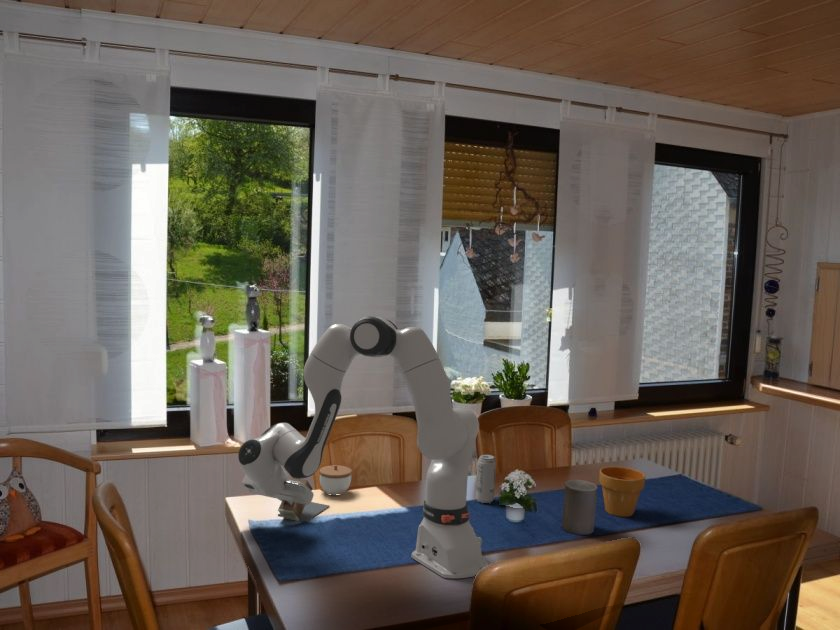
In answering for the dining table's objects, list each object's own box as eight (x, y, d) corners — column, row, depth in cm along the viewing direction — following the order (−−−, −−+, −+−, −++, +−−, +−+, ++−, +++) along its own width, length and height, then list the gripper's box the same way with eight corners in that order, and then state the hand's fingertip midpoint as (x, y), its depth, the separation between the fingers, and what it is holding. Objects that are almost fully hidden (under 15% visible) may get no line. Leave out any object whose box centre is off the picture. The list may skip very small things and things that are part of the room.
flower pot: (641, 523, 230) (644, 482, 229) (594, 515, 235) (597, 476, 233) (643, 508, 244) (646, 470, 242) (599, 501, 248) (601, 464, 247)
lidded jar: (356, 491, 248) (357, 463, 247) (340, 500, 238) (341, 472, 237) (329, 485, 252) (330, 458, 251) (312, 494, 242) (313, 466, 242)
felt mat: (306, 521, 219) (306, 520, 219) (278, 515, 223) (278, 514, 223) (329, 506, 232) (329, 505, 232) (302, 501, 236) (302, 500, 236)
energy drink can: (494, 504, 241) (496, 459, 239) (475, 503, 241) (478, 458, 239) (493, 498, 247) (495, 454, 245) (475, 497, 247) (477, 453, 245)
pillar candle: (554, 526, 224) (558, 478, 222) (575, 519, 230) (578, 473, 229) (580, 537, 217) (584, 488, 215) (600, 530, 223) (604, 482, 221)
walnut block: (292, 513, 216) (307, 480, 222) (277, 510, 218) (292, 477, 224) (298, 521, 219) (312, 488, 226) (283, 518, 221) (298, 486, 228)
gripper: (307, 475, 207) (323, 498, 217) (246, 463, 214) (264, 486, 224) (298, 496, 203) (315, 518, 213) (236, 483, 210) (255, 505, 221)
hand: (288, 501), depth 219 cm, fingers closed, pressing on walnut block
